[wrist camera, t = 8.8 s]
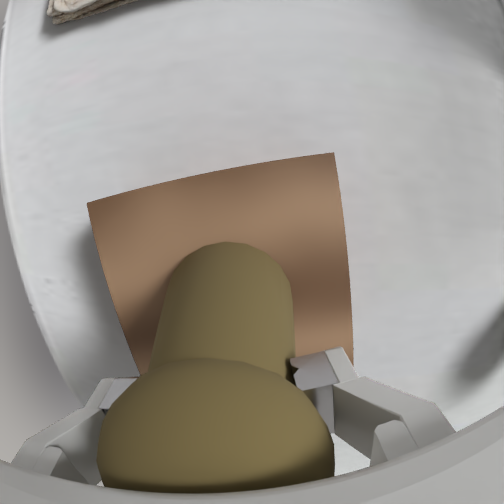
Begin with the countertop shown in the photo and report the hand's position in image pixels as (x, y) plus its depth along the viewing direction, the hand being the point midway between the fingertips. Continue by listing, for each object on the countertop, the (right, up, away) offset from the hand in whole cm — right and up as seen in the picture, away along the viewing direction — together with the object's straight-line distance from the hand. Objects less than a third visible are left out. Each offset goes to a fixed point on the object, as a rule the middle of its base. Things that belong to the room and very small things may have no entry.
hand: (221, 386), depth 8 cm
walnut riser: (0, +3, +11) cm, 12 cm away
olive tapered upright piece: (0, +1, +6) cm, 7 cm away
